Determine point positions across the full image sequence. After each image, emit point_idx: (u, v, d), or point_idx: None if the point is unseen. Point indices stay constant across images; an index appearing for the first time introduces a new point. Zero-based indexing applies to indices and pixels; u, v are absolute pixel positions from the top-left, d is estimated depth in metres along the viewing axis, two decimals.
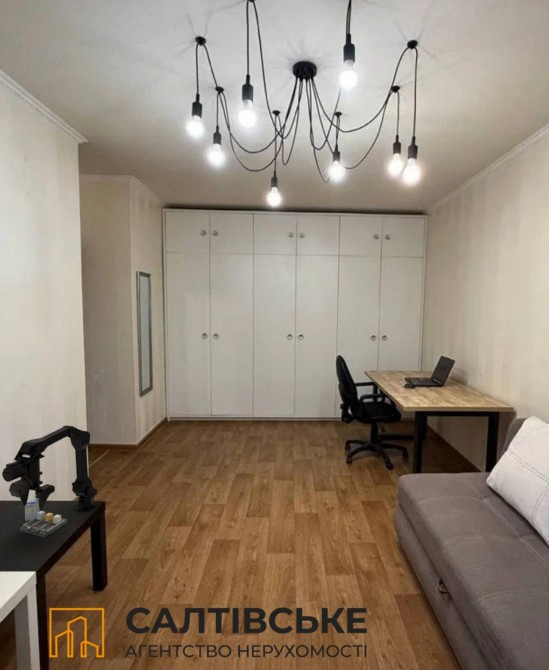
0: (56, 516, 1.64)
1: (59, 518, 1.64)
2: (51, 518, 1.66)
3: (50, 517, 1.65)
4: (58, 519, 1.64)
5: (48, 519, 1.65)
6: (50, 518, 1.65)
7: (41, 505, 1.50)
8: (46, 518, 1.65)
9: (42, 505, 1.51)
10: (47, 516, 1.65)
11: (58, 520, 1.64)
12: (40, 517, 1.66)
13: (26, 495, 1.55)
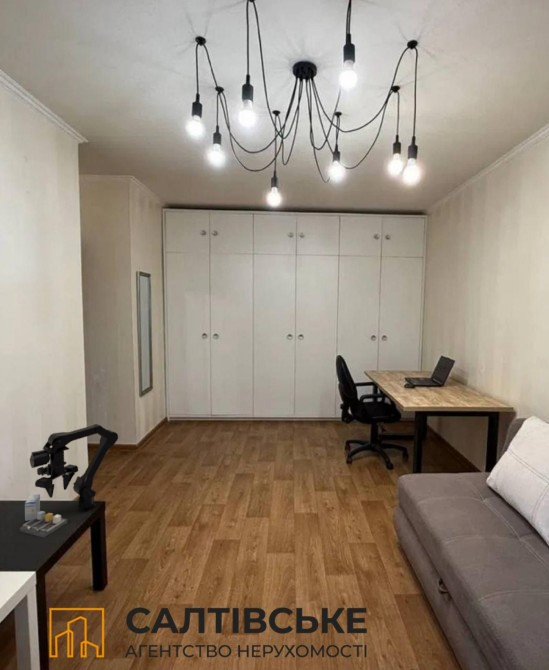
0: (56, 516, 1.64)
1: (59, 518, 1.64)
2: (51, 518, 1.66)
3: (50, 517, 1.65)
4: (58, 519, 1.64)
5: (48, 519, 1.65)
6: (50, 518, 1.65)
7: (48, 493, 1.65)
8: (46, 518, 1.65)
9: (49, 494, 1.65)
10: (47, 516, 1.65)
11: (58, 520, 1.64)
12: (40, 517, 1.66)
13: (66, 481, 1.73)
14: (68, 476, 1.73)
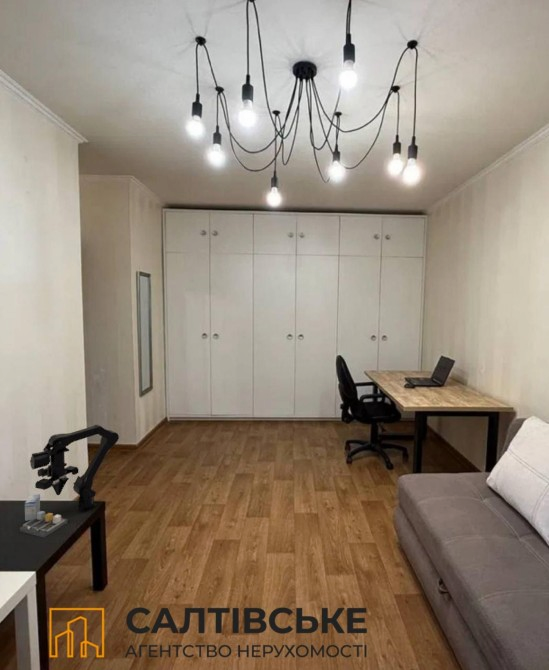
0: (56, 516, 1.64)
1: (59, 518, 1.64)
2: (51, 518, 1.66)
3: (50, 517, 1.65)
4: (58, 519, 1.64)
5: (48, 519, 1.65)
6: (50, 518, 1.65)
7: (55, 491, 1.69)
8: (46, 518, 1.65)
9: (56, 492, 1.69)
10: (47, 516, 1.65)
11: (58, 520, 1.64)
12: (40, 517, 1.66)
13: None
14: (62, 481, 1.70)
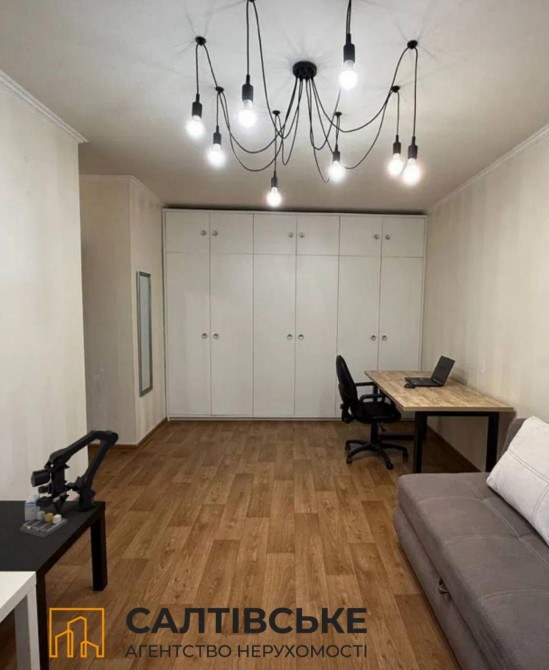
0: (56, 516, 1.64)
1: (59, 518, 1.64)
2: (51, 518, 1.66)
3: (50, 517, 1.65)
4: (58, 519, 1.64)
5: (48, 519, 1.65)
6: (50, 518, 1.65)
7: (56, 508, 1.70)
8: (46, 518, 1.65)
9: (57, 509, 1.70)
10: (47, 516, 1.65)
11: (58, 520, 1.64)
12: (40, 517, 1.66)
13: None
14: (62, 498, 1.70)
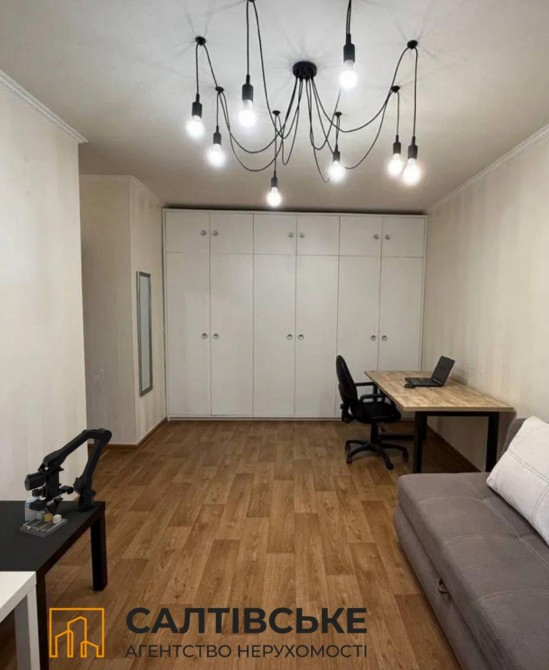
0: (56, 516, 1.64)
1: (59, 518, 1.64)
2: (51, 518, 1.65)
3: (50, 517, 1.65)
4: (58, 519, 1.64)
5: (48, 519, 1.65)
6: (50, 518, 1.65)
7: (50, 512, 1.67)
8: (46, 518, 1.65)
9: (51, 512, 1.67)
10: (46, 516, 1.65)
11: (58, 520, 1.64)
12: (40, 517, 1.66)
13: None
14: (56, 501, 1.67)
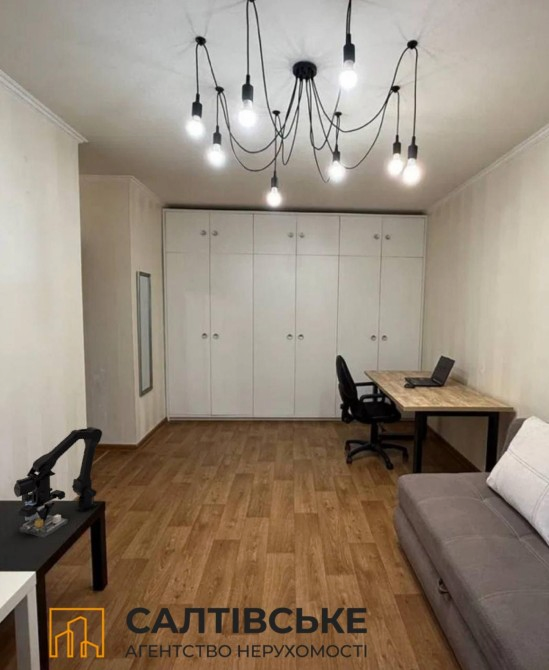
0: (56, 516, 1.64)
1: (59, 518, 1.64)
2: (41, 524, 1.61)
3: (40, 523, 1.60)
4: (58, 519, 1.64)
5: (38, 525, 1.60)
6: (40, 524, 1.60)
7: (40, 517, 1.62)
8: (36, 524, 1.60)
9: (41, 518, 1.62)
10: (37, 522, 1.60)
11: (58, 520, 1.64)
12: None
13: None
14: (47, 507, 1.63)
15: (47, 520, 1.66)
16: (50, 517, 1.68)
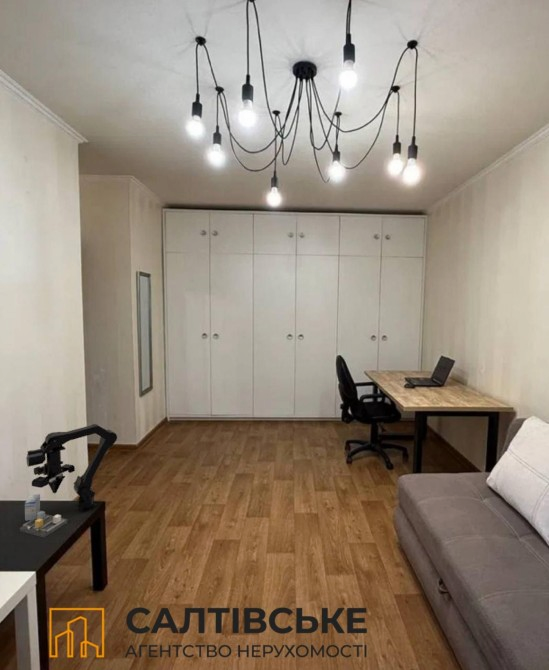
0: (56, 516, 1.64)
1: (59, 518, 1.64)
2: (41, 524, 1.61)
3: (40, 523, 1.60)
4: (58, 519, 1.64)
5: (38, 525, 1.60)
6: (40, 524, 1.60)
7: (52, 489, 1.69)
8: (36, 524, 1.60)
9: (53, 490, 1.69)
10: (37, 522, 1.60)
11: (58, 520, 1.64)
12: (40, 517, 1.66)
13: None
14: (58, 479, 1.70)
15: (47, 520, 1.66)
16: (50, 517, 1.68)
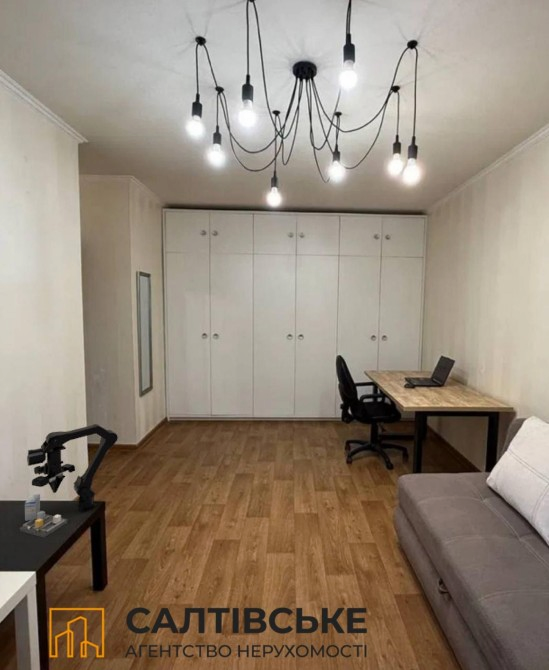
0: (56, 516, 1.64)
1: (59, 518, 1.64)
2: (41, 524, 1.61)
3: (40, 523, 1.60)
4: (58, 519, 1.64)
5: (38, 525, 1.60)
6: (40, 524, 1.60)
7: (52, 488, 1.70)
8: (36, 524, 1.60)
9: (53, 489, 1.70)
10: (37, 522, 1.60)
11: (58, 520, 1.64)
12: (40, 517, 1.66)
13: None
14: (58, 478, 1.70)
15: (47, 520, 1.66)
16: (50, 517, 1.68)
